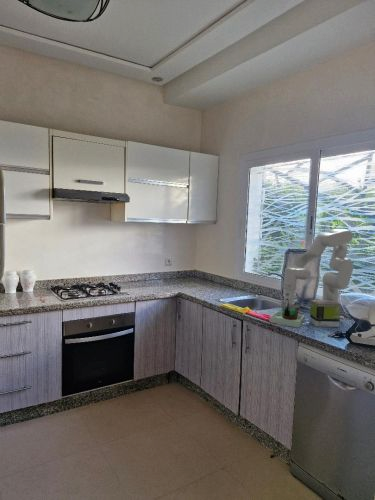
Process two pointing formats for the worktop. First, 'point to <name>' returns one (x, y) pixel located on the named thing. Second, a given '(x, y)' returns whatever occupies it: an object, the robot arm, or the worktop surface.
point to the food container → (291, 311)
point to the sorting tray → (286, 320)
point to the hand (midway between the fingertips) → (287, 314)
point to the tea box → (325, 313)
